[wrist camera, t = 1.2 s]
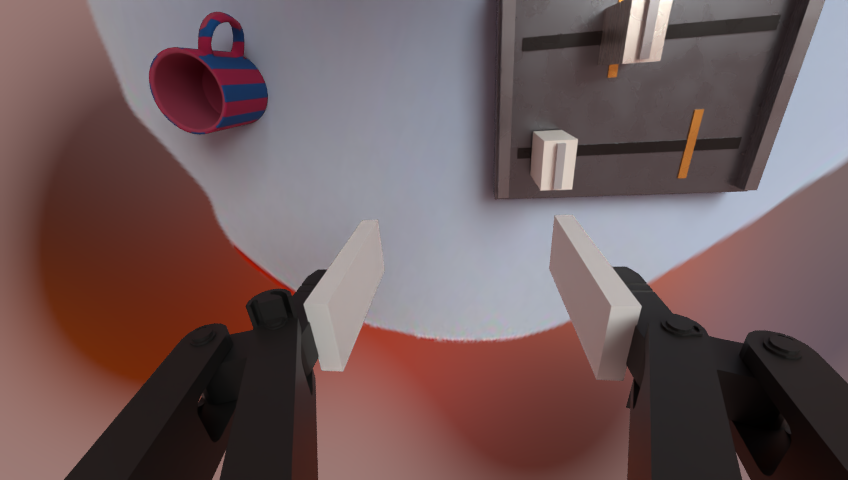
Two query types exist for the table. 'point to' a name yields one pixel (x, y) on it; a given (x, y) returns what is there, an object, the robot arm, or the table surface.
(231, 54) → the mug
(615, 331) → the robot arm
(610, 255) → the table surface
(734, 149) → the console
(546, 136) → the fader tab
